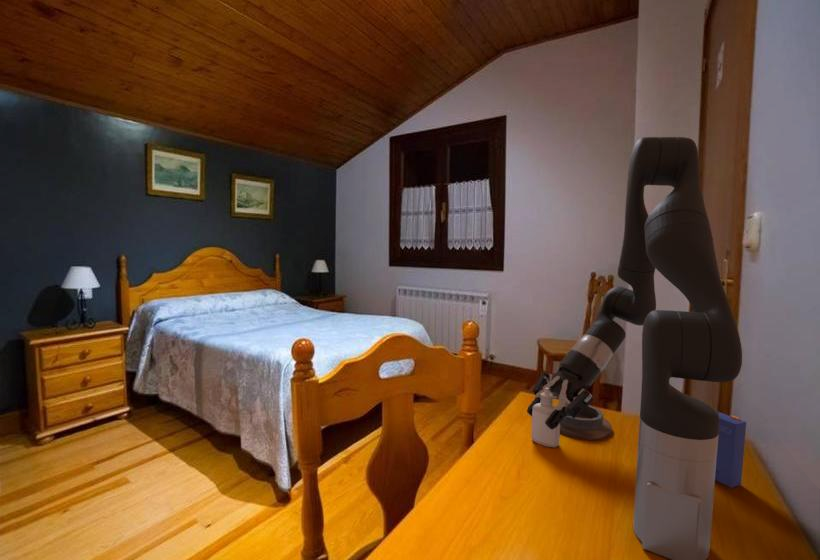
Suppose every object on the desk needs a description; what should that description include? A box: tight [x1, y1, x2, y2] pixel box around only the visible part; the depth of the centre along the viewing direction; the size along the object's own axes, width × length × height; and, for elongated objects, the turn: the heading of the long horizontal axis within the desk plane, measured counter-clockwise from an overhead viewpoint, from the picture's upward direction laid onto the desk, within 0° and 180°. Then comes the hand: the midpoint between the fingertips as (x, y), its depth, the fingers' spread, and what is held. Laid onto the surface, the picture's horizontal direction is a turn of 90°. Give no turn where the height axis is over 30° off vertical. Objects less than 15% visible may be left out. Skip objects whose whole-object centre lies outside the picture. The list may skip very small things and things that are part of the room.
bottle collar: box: [555, 404, 613, 441], centre depth 93 cm, size 14×14×4 cm
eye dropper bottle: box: [530, 388, 561, 449], centre depth 85 cm, size 4×6×12 cm
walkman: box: [715, 410, 747, 489], centre depth 73 cm, size 8×3×12 cm, turn 20°
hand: (539, 420), depth 84 cm, fingers closed on eye dropper bottle, 5 cm apart
